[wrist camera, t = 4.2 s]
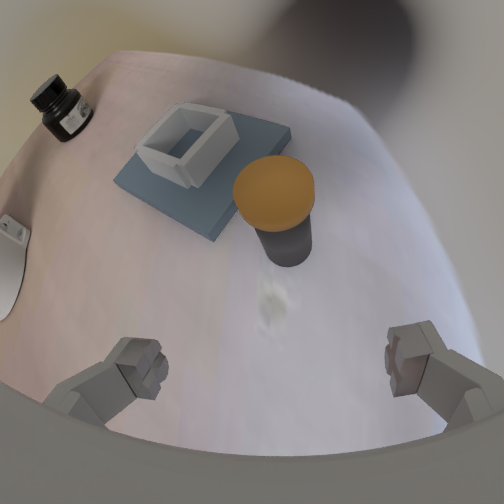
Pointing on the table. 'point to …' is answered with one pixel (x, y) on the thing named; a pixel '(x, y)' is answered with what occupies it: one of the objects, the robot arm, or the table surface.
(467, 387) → the robot arm
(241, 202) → the knob
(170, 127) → the mount
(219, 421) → the table surface
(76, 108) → the ink bottle
